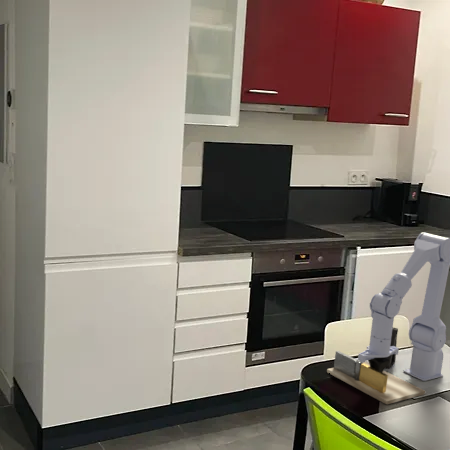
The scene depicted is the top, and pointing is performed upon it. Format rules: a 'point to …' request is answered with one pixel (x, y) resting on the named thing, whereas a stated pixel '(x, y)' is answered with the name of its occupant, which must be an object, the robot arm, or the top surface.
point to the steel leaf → (347, 365)
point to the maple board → (394, 387)
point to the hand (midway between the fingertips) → (375, 381)
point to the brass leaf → (373, 378)
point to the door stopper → (393, 343)
